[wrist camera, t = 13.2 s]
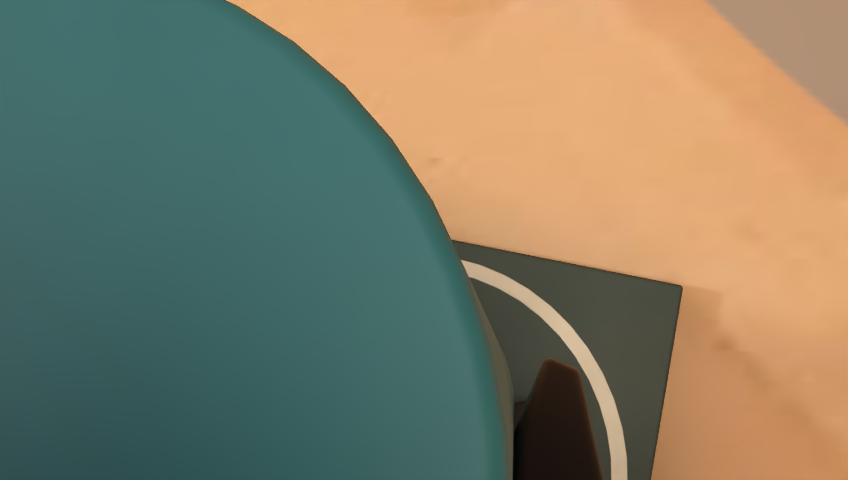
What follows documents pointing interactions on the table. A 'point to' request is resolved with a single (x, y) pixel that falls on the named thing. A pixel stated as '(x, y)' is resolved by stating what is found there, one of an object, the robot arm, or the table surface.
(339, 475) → the dauber
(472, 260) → the slate board
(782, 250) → the table surface
